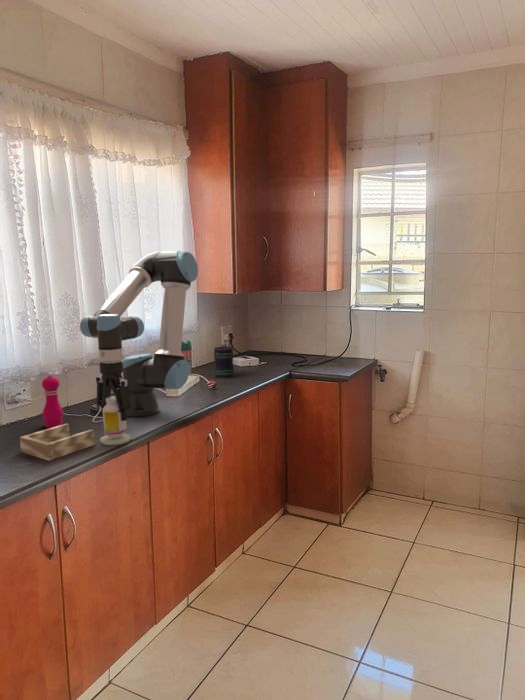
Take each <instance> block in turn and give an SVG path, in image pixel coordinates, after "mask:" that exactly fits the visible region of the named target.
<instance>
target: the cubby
mask: <svg viewBox="0 0 525 700" xmlns="http://www.w3.org/2000/svg"><path fill="white" fill-rule="evenodd" d="M95 441H96V439H95V430H94V429H88V430H85V431H82V432H79V433H75V434H72V435H71V434H70V424H69V423H63V424H62V425H59V426H56V427H52V428H46V429H42V430H39V431H35V432H32V433H29V434H26V435H25V434H24V435H23V436H19V443H20V444H19V445H20V453H23V454H26V455H28V456H29V455H30V456H33V457H35V458H39V459H43V460H45V461H49V462H50V461H52V460H55V459H58V458H61V457H64V456H67V455H69V454H72V453H74V452H75V453H76V452H79V451H81V450H84V449H87V448H89V447H93V446H95V445H96V442H95Z"/></svg>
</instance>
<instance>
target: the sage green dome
mask: <svg viewBox="0 0 525 700" xmlns="http://www.w3.org/2000/svg"><path fill="white" fill-rule="evenodd" d="M131 440H132V437H131V435H130V434H128V433H126V432H125V433H124V435H122V436H119V437H107V436H105V435H103V436H101V437H100V439H99V441H100V442H99V443H100V444H101V445H102V446H103V445H104V446H120V445H125V444H127V443H129V442H131Z"/></svg>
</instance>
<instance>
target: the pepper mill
mask: <svg viewBox="0 0 525 700" xmlns="http://www.w3.org/2000/svg"><path fill="white" fill-rule="evenodd" d="M41 386H42V388H43V392H44V395H45V404H44V408H43V410H42V418H43V419H44V420H45V421H44V427H45V428H46V429H49V428H52V427H56V426H59V425H62V424H64V421H63V419H62V418H63V416H64V409H63V407H62V406H61V404H60V402H59V398H58V397H59V395H58V394H59V393H60V391H59V389H58V388H59V387H60V381H59V379H58V378H57V377H55V376H53V372H48V374H47V377H44V379H42V382H41Z"/></svg>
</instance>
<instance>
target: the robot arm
mask: <svg viewBox="0 0 525 700" xmlns="http://www.w3.org/2000/svg"><path fill="white" fill-rule="evenodd" d="M198 274H199V267H198V262H197V260H196V259H195V256H194V255H193V253H191V252H189V251H181V250H177V251H173V250H172V251H154V252H152V253H151V252H150V253H148V254H147V255H144V256H143V257H142V258H141V259H139V260H138V261H137V262H135V263H134V265H132V266H131V268H130V269H129V271H128V275H127V276H126V278H125V279H124V280H123V281H122V282H121V283H120V285H119V286H118V287H117V288H116V289H114V291H113V293H112V294H111V295H110V296H109V297H108V298H107V299H106V301H105V302H104V303H103V304H102V306H101V307H100V308H98V310H97V311H96V312H95V313H94V315H88V316H87V315H86V316H84V317H82V319H81V320H80V323H79V331H80V333H81V334H82V335H83V336H84V337H87V338H94V339H97V342H98V343H97V345H98V359H99V361H100V362H99V373H100V374H101V375H100V376H96V377H95V381H96V405H97V406H100V408H101V413H102V414H101V417H102V421H103V425H104V414H103V408H104V406H105V405H107V403H106V398H107V397H111V396H112V395H111V394H112V393H113V394H114V396H115V397H116V400H117V404H118V407H119V410H120V411H118V425H119V431H122V430H127V419H128V417H132V418H133V417H137V418H138V417H145V416H146V417H147V416H152V415H155V414H157V413H158V412H159V411H160V406H159V405H160V404H159V403H158V401H157V400H158V399H157V397H156V395H155V390H154V389H158V390H159V389H161V390H167V391H171V390H173V391H174V390H175V391H176V390H180V389H181V388H183V387H184V386H185V384H186V383H187V382H188V379H189V376H190V365H189V363H188V361H186V360H185V355H184V354H183V352H182V341H183V331H184V323H185V322H184V319H185V309H186V297H187V291H188V290H189V289H190V288H192V287H191V285H192V282H195V281H196V280H197V277H198ZM155 282H160V285H161V286H162V288H163V298H162V299H163V300H162V309H161V322H160V329H159V330H160V331H159V343H158V344H159V345H158V349H157V351H156V352H154V354H151V353H141V354H134V355H130V356H126V357H124V358H123V343H122V342H123V341H127V340H132V339H133V340H134V339H136V338H139V337H141V336H142V335H143V334H144V332H145V323H144V321H143V320H142V319H141V318H140V317H138V316H126V317H122V316H123V314H124V313H125V312H126V311H127V310H128V308H129V307H130V305H132V303H133V302H134V301H135V299H137V297H138V296H139V295H140V294H141V292H143V290H144V289H145V288H148V287H150V286H151V284H153V283H155ZM122 407H123V408H122Z"/></svg>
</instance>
